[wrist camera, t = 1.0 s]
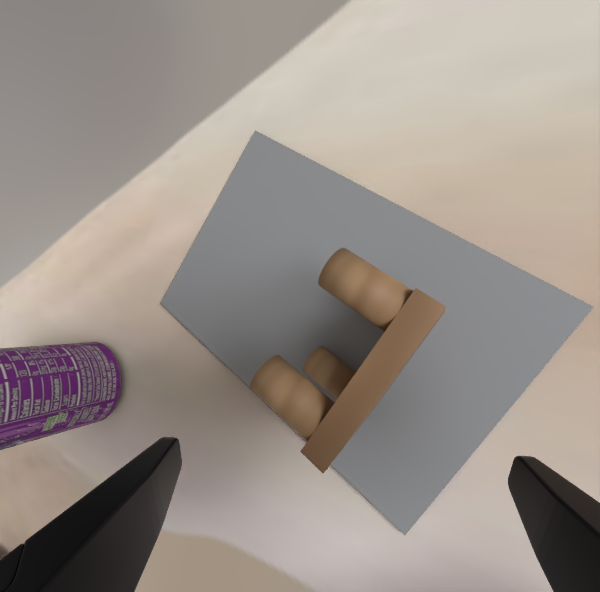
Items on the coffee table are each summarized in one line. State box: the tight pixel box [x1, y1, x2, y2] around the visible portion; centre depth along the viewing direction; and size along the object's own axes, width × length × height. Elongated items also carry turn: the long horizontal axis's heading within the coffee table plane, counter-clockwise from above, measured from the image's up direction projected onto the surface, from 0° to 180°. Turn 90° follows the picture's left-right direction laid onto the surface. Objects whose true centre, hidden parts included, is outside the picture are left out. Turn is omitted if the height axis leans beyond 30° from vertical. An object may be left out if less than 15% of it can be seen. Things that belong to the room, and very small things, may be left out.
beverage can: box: [0, 342, 121, 450], centre depth 25 cm, size 7×7×12 cm
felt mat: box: [161, 131, 593, 535], centre depth 22 cm, size 24×16×1 cm, turn 55°
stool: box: [250, 248, 446, 473], centre depth 17 cm, size 5×8×8 cm, turn 145°
